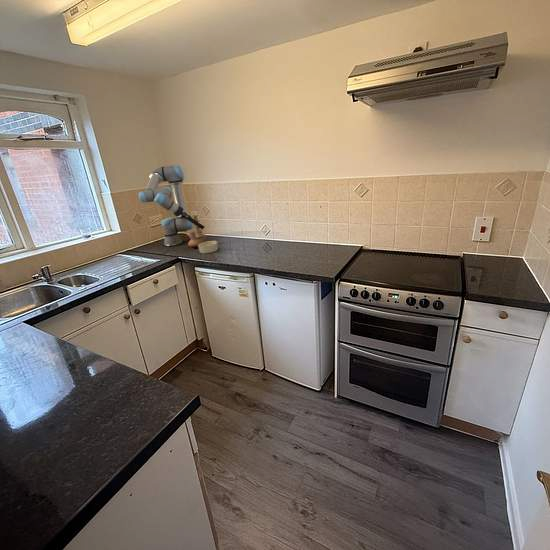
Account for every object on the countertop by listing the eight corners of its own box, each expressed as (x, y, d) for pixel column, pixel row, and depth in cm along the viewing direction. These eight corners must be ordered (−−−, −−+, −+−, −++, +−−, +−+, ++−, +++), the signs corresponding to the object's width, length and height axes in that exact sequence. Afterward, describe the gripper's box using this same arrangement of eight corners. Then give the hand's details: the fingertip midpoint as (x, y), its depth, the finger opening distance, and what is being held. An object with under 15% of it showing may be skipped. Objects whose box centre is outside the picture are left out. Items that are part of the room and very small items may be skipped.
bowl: (203, 248, 240) (202, 241, 238) (221, 247, 237) (219, 240, 235) (196, 254, 226) (195, 246, 224) (214, 253, 224) (213, 245, 222)
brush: (197, 235, 230) (193, 214, 224) (204, 235, 229) (199, 214, 223) (194, 237, 225) (190, 216, 219) (201, 236, 224) (197, 215, 218)
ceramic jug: (184, 248, 246) (180, 232, 241) (195, 243, 258) (192, 227, 253) (201, 249, 238) (198, 232, 233) (212, 244, 250) (209, 227, 245)
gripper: (170, 212, 220) (197, 230, 233) (175, 215, 207) (203, 233, 220) (176, 204, 220) (202, 222, 233) (181, 206, 207) (208, 225, 220)
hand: (202, 227), depth 227 cm, fingers closed on brush, 3 cm apart
